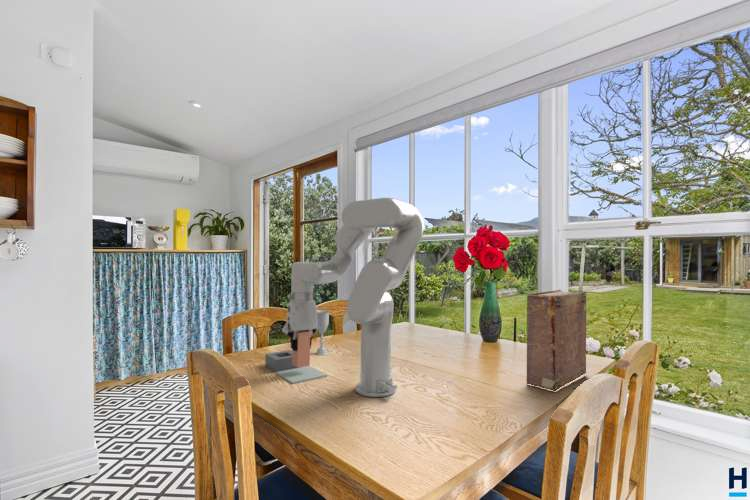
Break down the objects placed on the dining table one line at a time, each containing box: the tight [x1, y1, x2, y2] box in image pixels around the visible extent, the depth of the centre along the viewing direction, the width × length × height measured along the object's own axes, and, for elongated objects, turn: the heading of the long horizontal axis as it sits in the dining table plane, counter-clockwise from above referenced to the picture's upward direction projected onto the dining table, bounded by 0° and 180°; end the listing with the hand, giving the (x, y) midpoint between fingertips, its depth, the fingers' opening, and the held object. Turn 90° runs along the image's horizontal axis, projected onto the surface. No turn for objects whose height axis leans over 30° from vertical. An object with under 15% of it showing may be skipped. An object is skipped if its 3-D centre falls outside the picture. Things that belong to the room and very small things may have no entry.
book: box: [526, 289, 587, 391], centre depth 130 cm, size 25×9×30 cm, turn 131°
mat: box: [275, 365, 328, 385], centre depth 134 cm, size 13×13×1 cm
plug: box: [291, 330, 311, 368], centre depth 134 cm, size 4×4×12 cm
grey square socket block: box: [264, 349, 301, 373], centre depth 144 cm, size 10×10×4 cm
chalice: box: [315, 309, 331, 356], centre depth 163 cm, size 7×7×18 cm
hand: (301, 348), depth 134 cm, fingers closed on plug, 4 cm apart
